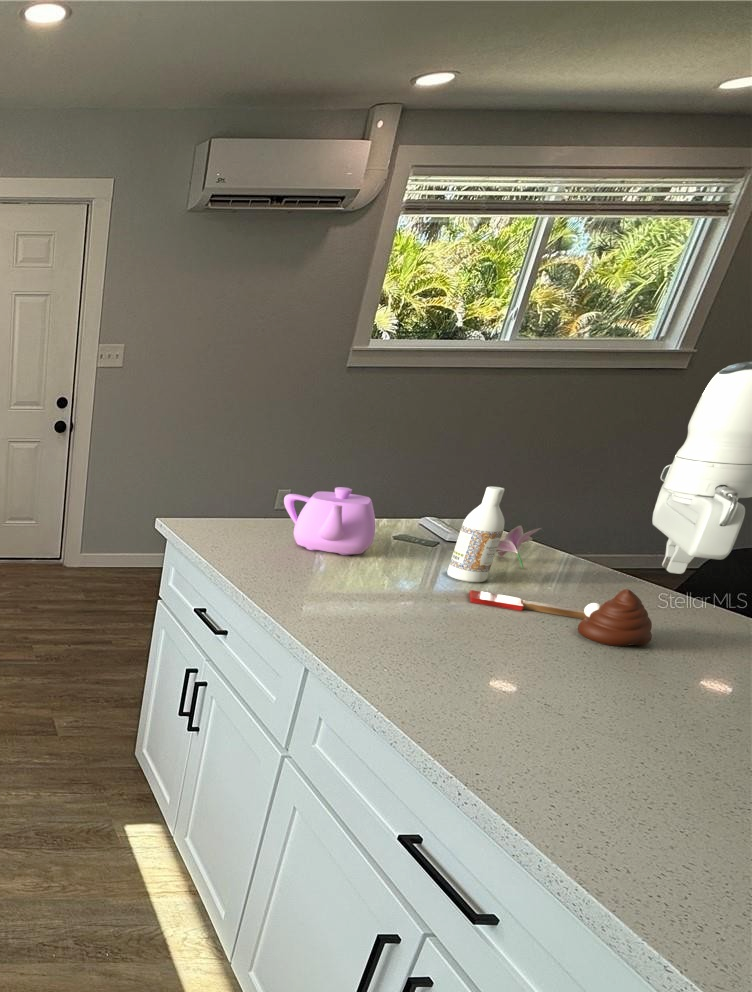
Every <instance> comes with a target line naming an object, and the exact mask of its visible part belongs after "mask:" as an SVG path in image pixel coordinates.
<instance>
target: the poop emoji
mask: <svg viewBox="0 0 752 992" xmlns="http://www.w3.org/2000/svg"><path fill="white" fill-rule="evenodd" d="M583 610H584V613H585V615H586V616H587V618H585V619H581V621H580V622H579V624H578V625H577V632H578V633H579V634H580V635H581V636H582V637H584V638H586V639H587V640H590V641H593V642H596V643H597V644H598V643H599V644H602V645H607V646H613V647H626V646H631V645H634V646H645V645H648V644H649V643H650V642H651V641H652V638H653V634H652V627H653V623H652V620H651V618H650V616H649V613H648V611H647V609H646V608H645V606H644V604H643V602H642V600H641V598H640V597H639V596H637V594H636V593H635V592H633V591H631V589H628V588H624V589H622V590H621V591H619V592H618V593H617V594H616V595H615V596H614V597H613V598H611V599H608V600H606V601H605V602H604V603H602V604H600V603H598V602H590V603H589V604H587V605H585V607H584V608H583Z"/></svg>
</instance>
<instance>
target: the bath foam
mask: <svg viewBox="0 0 752 992" xmlns="http://www.w3.org/2000/svg"><path fill="white" fill-rule="evenodd" d="M504 492H505V488H504V487H500V486H487V487H486V488H485V491H484V495H483V498H482V501H481V503H480V504H479V505H478V506H476V507H475V508H474V509H473V510H471V511H470V512H469V513H468V514H467V516H466V517H465V518H464V520H463V523H462V524H461V527H460V530H459V534H458V537H457V540H456V543H455V545H454V549H453V552H452V555H451V558H450V561H449V565H448V568H447V571H446V573H447V576H448V577H450V578H452V579H454V580H457V581H461V582H468V583H482V582H485V581H486V580H487V578H488V576H489V573H490V570H491V568H492V564H493V561H494V559H495V556H496V553H497V552H496V550H497V547H498V545H499V542H500V541H501V540H502V536H503V533H504V530H505V525H506V524H505V517H504V515H503V512H502V510H501V507H500V504H501V503H502V502H501V501H502V498H503V496H504Z"/></svg>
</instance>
